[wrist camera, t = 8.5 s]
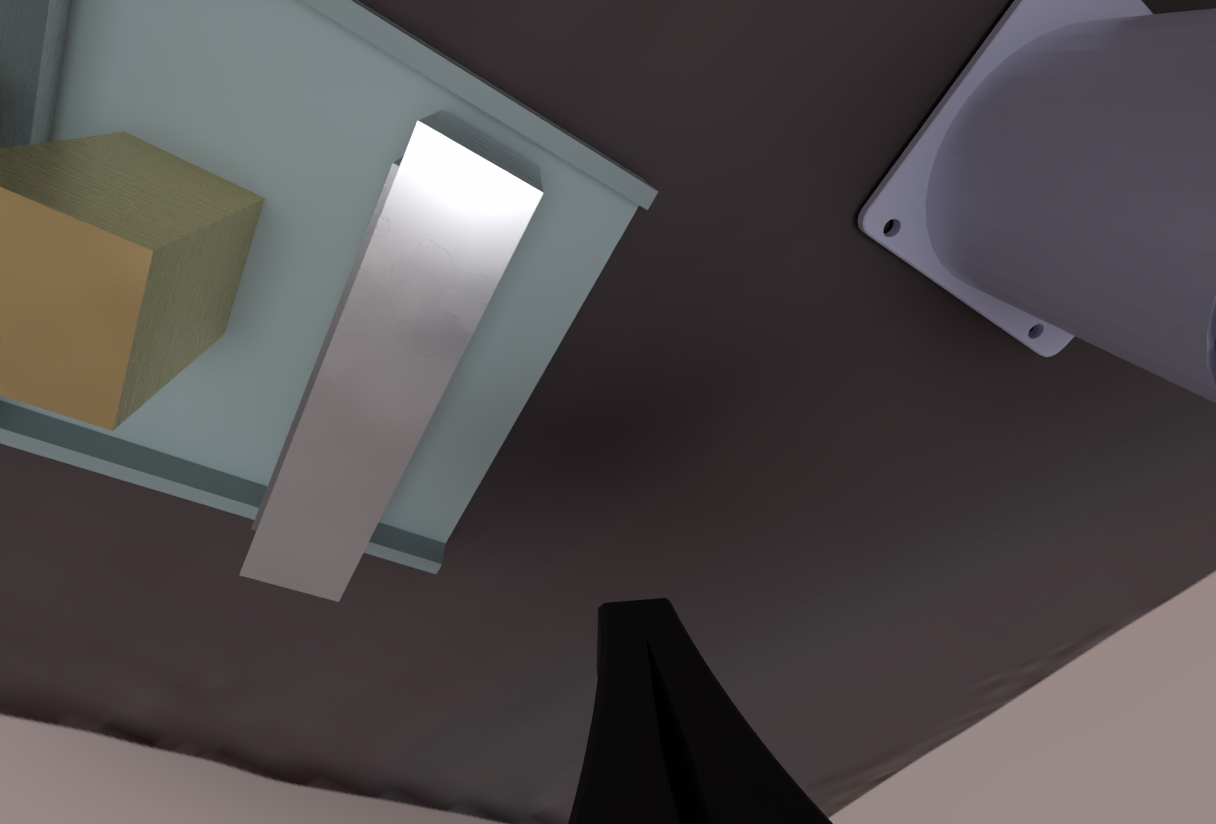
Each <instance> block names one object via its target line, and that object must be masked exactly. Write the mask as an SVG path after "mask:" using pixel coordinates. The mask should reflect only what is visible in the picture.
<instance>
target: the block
mask: <svg viewBox="0 0 1216 824" xmlns="http://www.w3.org/2000/svg"><path fill="white" fill-rule="evenodd" d="M264 199H265V198H263V197H261V196H259V195H257V194H255V193H253V192H251V191H249V190H246V189H244V188H242V187H240V186H238V185H236V184H234V183H232V182H230V181H228V180H225V179H223V178H221V177H219V176H217V175H215V174H213V173H211V172H209V171H207V170H204V169H202V168H200V167H198V166H196V165H194V164H192V163H190V162H188V161H185V160H183V159H181V158H179V157H177V156H175V155H173V154H171V153H169V152H167V151H164V150H162V149H160V148H158V147H156V146H154V145H152V144H150V143H148V142H145V141H143V140H141V139H139V138H137V137H135V136H133V135H131V134H129V133H127V132H117V133H109V134H102V135H95V136H88V137H81V138H74V139H67V140H60V141H53V142H46V143H39V144H32V145H25V146H18V147H10V148H3V149H0V395H1V396H4V397H7V398H10V399H14V400H17V401H20V402H23V403H26V404H29V405H32V406H35V407H39V408H42V409H45V410H48V411H51V412H54V413H57V414H60V415H64V416H67V417H70V418H73V419H76V420H79V421H82V422H86V423H89V424H92V425H95V426H98V427H101V428H104V429H107V430H111V431H113V430H114V429H116V428H117V427H118V426H119V425H120V424H121V423H123V422H124V421H125V420H126V419H127V418H128V417H129V416H131V415H132V414H133V413H134V412H135V411H136V410H137V409H139V408H140V407H141V406H142V405H143V404H144V403H146V402H147V401H148V400H149V399H150V398H151V397H152V396H154V395H155V394H156V393H157V392H158V391H159V390H161V389H162V388H163V387H164V386H165V385H166V384H167V383H169V382H170V381H171V380H172V379H173V378H174V377H176V376H177V375H178V374H179V373H180V372H181V371H182V370H184V369H185V368H186V367H187V366H188V365H189V364H191V363H192V362H193V361H194V360H195V359H196V358H197V357H199V356H200V355H201V354H202V353H203V352H204V351H206V350H207V349H208V348H209V347H210V346H211V345H212V344H214V343H215V342H216V341H217V340H218V339H219V338H221V337H222V336H223V335H224V334H225V330H226V327H227V323H228V320H229V317H230V313H231V310H232V307H233V303H234V300H235V296H236V293H237V290H238V286H239V283H240V280H241V276H242V273H243V269H244V266H245V263H246V259H247V256H248V253H249V249H250V246H251V242H252V239H253V236H254V232H255V229H256V226H257V222H258V219H259V215H260V212H261V209H262V205H263V202H264Z"/></svg>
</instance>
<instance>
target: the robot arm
mask: <svg viewBox="0 0 1216 824" xmlns="http://www.w3.org/2000/svg"><path fill="white" fill-rule="evenodd" d="M891 219H893V227H892V229H891V230H890V231H889V232H888V233H885V234H884V233H883V228H884V226H885V224H886V223H887V222H888V221H889V220H891ZM858 226H859V229H860V230H861V231H862V232H863V233H864V234H866V235H867V236H869V237H870V238H872V239H873V240H875V241H876V242H877V243H879V244H880V245H882V246H883V247H885V248H886V249H887V250H889V251H890V252H892V253H893V254H895V255H896V256H897V257H899V258H900V259H902V260H903V261H905V262H906V263H908V264H909V265H910V266H912V267H913V268H915V269H916V270H918V271H919V272H920V273H922V274H923V275H925V276H926V277H928V278H929V279H930V280H932V281H933V282H935V283H936V284H938V285H939V286H941V287H942V288H943V289H945V290H946V291H948V292H949V293H951V294H952V295H953V296H955V297H956V298H958V299H959V300H961V301H962V302H963V303H965V304H966V305H968V306H969V307H971V308H972V309H974V310H975V311H976V312H978V313H979V314H981V315H982V316H984V317H985V318H986V319H988V320H989V321H991V322H992V323H994V324H995V325H997V326H998V327H999V328H1001V329H1002V330H1004V331H1005V332H1007V333H1008V334H1009V335H1011V336H1012V337H1014V338H1015V339H1017V340H1018V341H1019V342H1021V343H1022V344H1024V345H1025V346H1027V347H1028V348H1030V349H1031V350H1032V351H1034V352H1035V353H1037V354H1039V355H1041V356H1044V357H1050V356H1053V355H1055V354H1057V353H1058V352H1059V351H1061V350H1062V349H1063V348H1064V347H1065V346H1066V345H1067V344H1068V343H1069V342H1070V341H1071V340H1072V339H1073V338H1074V336H1075V337H1078V338H1080V339H1082V340H1084V341H1086V342H1088V343H1090V344H1092V345H1094V346H1096V347H1099V348H1101V349H1103V350H1105V351H1107V352H1109V353H1111V354H1113V355H1115V356H1118V357H1120V358H1122V359H1124V360H1126V361H1128V362H1130V363H1132V364H1134V365H1136V366H1139V367H1141V368H1143V369H1145V370H1147V371H1149V372H1151V373H1153V374H1155V375H1157V376H1160V377H1162V378H1164V379H1166V380H1168V381H1170V382H1172V383H1174V384H1176V385H1179V386H1181V387H1183V388H1185V389H1187V390H1189V391H1191V392H1193V393H1195V394H1197V395H1200V396H1202V397H1204V398H1206V399H1208V400H1210V401H1212V402H1214V403H1216V8H1215V9H1204V10H1194V11H1184V12H1173V13H1163V14H1153V13H1152V12H1151V11H1150V10H1149V8H1148V7H1147V6H1146V5H1145V4H1144V3H1143V1H1142V0H1014V2H1013V3H1012V4H1011V6H1010V7H1009V8H1008V10H1007V11H1006V12H1005V14H1004V15H1003V17H1002V18H1001V19H1000V21H999V22H998V23H997V25H996V26H995V27H994V29H993V30H992V32H991V33H990V34H989V36H988V37H987V38H986V40H985V41H984V43H983V44H982V45H981V47H980V48H979V49H978V51H977V52H976V53H975V55H974V56H973V58H972V59H971V60H970V62H969V63H968V64H967V66H966V67H965V68H964V70H963V71H962V73H961V74H960V75H959V77H958V78H957V79H956V81H955V82H954V84H953V85H952V86H951V88H950V89H949V90H948V92H947V93H946V94H945V96H944V97H943V99H942V100H941V101H940V103H939V104H938V105H937V107H936V108H935V109H934V111H933V112H932V114H931V115H930V116H929V118H928V119H927V120H926V122H925V123H924V124H923V126H922V127H921V129H920V130H919V131H918V133H917V134H916V135H915V137H914V138H913V140H912V141H911V142H910V144H909V145H908V146H907V148H906V149H905V150H904V152H903V153H902V155H901V156H900V157H899V159H898V160H897V161H896V163H895V164H894V165H893V167H892V168H891V170H890V171H889V172H888V174H887V175H886V176H885V178H884V179H883V181H882V182H881V183H880V185H879V186H878V187H877V189H876V190H875V191H874V193H873V194H872V196H871V197H870V198H869V200H868V201H867V202H866V204H865V205H864V206H863V208H862V209H861V211H860V213H859V216H858ZM1033 326H1034V328H1033V330H1032V331H1031V332H1029V331H1030V329H1031V328H1032V327H1033ZM597 675H598V682H597V689H596V697H595V705H594V711H593V717H592V722H591V727H590V732H589V737H588V743H587V748H586V753H585V758H584V762H583V767H582V771H581V775H580V780H579V784H578V788H577V792H576V796H575V800H574V804H573V808H572V812H571V815H570V819H569V823H568V824H833V823H832V822H831V821H830V820H829V819H828V818H827V817H826V816H825V815H824V814H823V813H822V811H821V810H820V809H819V808H818V807H817V806H816V805H815V804H814V803H813V802H812V800H811V799H810V798H809V797H808V796H807V795H806V794H805V793H804V792H803V790H802V789H801V788H800V787H799V786H798V785H797V783H796V782H795V781H794V780H793V779H792V778H791V776H790V775H789V774H788V773H787V772H786V771H785V769H784V768H783V767H782V766H781V765H780V763H779V762H778V761H777V760H776V759H775V757H774V756H773V755H772V754H771V752H770V751H769V750H768V749H767V747H766V746H765V745H764V744H763V742H762V741H761V740H760V738H759V737H758V736H757V734H756V733H755V732H754V731H753V729H752V728H751V727H750V725H749V724H748V723H747V721H746V720H745V719H744V717H743V716H742V715H741V713H740V712H739V710H738V709H737V708H736V706H735V705H734V704H733V702H732V701H731V699H730V698H729V696H728V695H727V693H726V692H725V691H724V689H723V688H722V686H721V685H720V683H719V682H718V680H717V679H716V677H715V676H714V675H713V673H712V672H711V670H710V669H709V667H708V665H707V664H706V662H705V661H704V659H703V658H702V656H701V654H700V653H699V651H698V650H697V648H696V646H695V645H694V643H693V642H692V640H691V638H690V636H689V635H688V633H687V631H686V630H685V628H684V626H683V624H682V623H681V621H680V619H679V617H678V615H677V613H676V612H675V610H674V608H673V606H672V604H671V602H670V601H669V600H668V599H666V598H659V599H647V600H635V601H622V602H610V603H604V604H602V605H601V606H600V607H599V608H598V644H597Z"/></svg>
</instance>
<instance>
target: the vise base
mask: <svg viewBox="0 0 1216 824" xmlns="http://www.w3.org/2000/svg"><path fill="white" fill-rule="evenodd" d="M441 110H444V111H445V112H447V113H449V114H450V115H452V116H454V117H456V118H457V119H459V120H461V121H462V122H464V123H466V124H467V125H469V126H471V127H472V128H474V129H476V130H478V131H479V132H481V133H483V134H484V135H486V136H488V137H489V138H491V139H493V140H494V141H496V142H498V143H500V144H501V145H503V146H505V147H506V148H508V149H510V150H511V151H513V152H515V153H516V154H518V155H520V156H522V157H523V158H525V159H527V160H528V161H530V162H532V163H533V164H535V165H537V166H538V167H539V169H540V175H541V181H542V187H543V195H542V197H541V199H540V201H539V203H538V205H537V207H536V209H535V211H534V213H533V215H532V217H531V219H530V221H529V223H528V225H527V227H526V229H525V231H524V233H523V235H522V237H521V239H520V241H519V243H518V245H517V247H516V249H515V251H514V253H513V255H512V257H511V259H510V261H509V263H508V265H507V267H506V269H505V271H504V273H503V275H502V277H501V279H500V281H499V283H498V285H497V287H496V289H495V291H494V293H493V295H492V297H491V299H490V301H489V303H488V305H487V307H486V309H485V311H484V313H483V315H482V317H481V319H480V321H479V323H478V325H477V327H476V329H475V331H474V333H473V335H472V337H471V339H470V341H469V343H468V345H467V347H466V349H465V351H464V353H463V355H462V357H461V359H460V361H459V363H458V365H457V367H456V369H455V371H454V373H453V375H452V377H451V379H450V381H449V383H448V385H447V387H446V389H445V391H444V393H443V395H442V397H441V399H440V401H439V403H438V405H437V407H436V409H435V411H434V413H433V415H432V417H431V419H430V421H429V423H428V425H427V427H426V429H425V431H424V433H423V435H422V437H421V439H420V441H419V443H418V445H417V447H416V449H415V451H414V453H413V455H412V457H411V459H410V461H409V463H408V465H407V467H406V469H405V471H404V473H403V475H402V477H401V479H400V481H399V483H398V484H397V486H396V488H395V490H394V492H393V494H392V496H391V498H390V500H389V502H388V504H387V506H386V508H385V510H384V512H383V514H382V516H381V518H380V520H379V522H378V524H377V526H376V528H375V530H374V532H373V534H372V536H371V538H370V540H369V542H368V544H367V546H366V548H365V550H364V552H363V553H367V554H370V555H373V556H377V557H380V558H383V559H387V560H390V561H393V562H397V563H400V564H403V565H407V566H410V567H413V568H417V569H420V570H423V571H427V572H430V573H433V574H437V572H438V570H439V569H440V567H441V565H442V561H443V555H444V549H445V543H446V542H447V540H448V538H449V536H450V535H451V533H452V531H453V530H454V528H455V526H456V524H457V523H458V521H459V519H460V517H461V516H462V514H463V512H464V510H465V509H466V507H467V505H468V503H469V502H470V500H471V498H472V496H473V495H474V493H475V491H476V489H477V488H478V486H479V484H480V482H481V481H482V479H483V477H484V475H485V474H486V472H487V470H488V468H489V467H490V465H491V463H492V461H493V460H494V458H495V456H496V454H497V453H498V451H499V449H500V447H501V446H502V444H503V442H504V440H505V439H506V437H507V435H508V433H509V432H510V430H511V428H512V426H513V425H514V423H515V421H516V419H517V418H518V416H519V414H520V413H521V411H522V409H523V407H524V406H525V404H526V402H527V400H528V399H529V397H530V395H531V393H532V392H533V390H534V388H535V386H536V385H537V383H538V381H539V379H540V378H541V376H542V374H543V372H544V371H545V369H546V367H547V365H548V364H549V362H550V360H551V358H552V357H553V355H554V353H555V351H556V350H557V348H558V346H559V344H560V343H561V341H562V339H563V337H564V336H565V334H566V332H567V330H568V329H569V327H570V325H571V323H572V322H573V320H574V318H575V316H576V315H577V313H578V311H579V309H580V308H581V306H582V304H583V302H584V301H585V299H586V297H587V296H588V294H589V292H590V290H591V289H592V287H593V285H594V283H595V282H596V280H597V278H598V276H599V275H600V273H601V271H602V269H603V268H604V266H605V264H606V262H607V261H608V259H609V257H610V255H611V254H612V252H613V250H614V248H615V247H616V245H617V243H618V241H619V240H620V238H621V236H622V234H623V233H624V231H625V229H626V227H627V226H628V224H629V222H630V220H631V219H632V217H633V215H634V213H635V212H636V210H637V208H638V206H639V205H640V206H641V207H643V208H645V209H646V210H648V209H649V207H650V205H651V203H652V202H653V200H654V198H655V197H656V195H657V193H658V191H657V190H656V189H654V188H653V187H652V186H651V185H650V184H649V183H648V182H646V181H645V180H644V179H643V178H641V177H639V176H638V175H636V174H635V173H633V172H631V171H630V170H628V169H627V168H625V167H623V166H622V165H620V164H619V163H617V162H615V161H614V160H612V159H611V158H609V157H607V156H606V155H604V154H603V153H601V152H599V151H598V150H596V149H595V148H593V147H591V146H590V145H588V144H587V143H585V142H583V141H582V140H580V139H579V138H577V137H575V136H574V135H572V134H571V133H569V132H567V131H566V130H564V129H563V128H561V127H560V126H558V125H556V124H555V123H553V122H552V121H550V120H548V119H547V118H545V117H544V116H542V115H540V114H539V113H537V112H536V111H534V110H532V109H531V108H529V107H528V106H526V105H524V104H523V103H521V102H520V101H518V100H516V99H515V98H513V97H512V96H510V95H508V94H507V93H505V92H504V91H502V90H500V89H499V88H497V87H496V86H494V85H492V84H491V83H489V82H488V81H486V80H484V79H483V78H481V77H480V76H478V75H476V74H475V73H473V72H472V71H470V70H468V69H467V68H465V67H464V66H462V65H460V64H459V63H457V62H456V61H454V60H452V59H451V58H449V57H448V56H446V55H445V54H443V53H441V52H440V51H438V50H437V49H435V48H433V47H432V46H430V45H429V44H427V43H425V42H424V41H422V40H421V39H419V38H417V37H416V36H414V35H413V34H411V33H409V32H408V31H406V30H405V29H403V28H401V27H400V26H398V25H397V24H395V23H393V22H392V21H390V20H389V19H387V18H385V17H384V16H382V15H381V14H379V13H377V12H376V11H374V10H373V9H371V8H369V7H368V6H366V5H365V4H363V3H361V2H360V1H358V0H72V2H71V9H70V15H69V22H68V29H67V35H66V42H65V49H64V55H63V62H62V69H61V75H60V82H59V89H58V96H57V102H56V109H55V116H54V122H53V129H52V136H51V142H53V141H60V140H67V139H74V138H81V137H88V136H95V135H102V134H109V133H117V132H127V133H129V134H131V135H133V136H135V137H137V138H139V139H141V140H143V141H145V142H148V143H150V144H152V145H154V146H156V147H158V148H160V149H162V150H164V151H167V152H169V153H171V154H173V155H175V156H177V157H179V158H181V159H183V160H185V161H188V162H190V163H192V164H194V165H196V166H198V167H200V168H202V169H204V170H207V171H209V172H211V173H213V174H215V175H217V176H219V177H221V178H223V179H225V180H228V181H230V182H232V183H234V184H236V185H238V186H240V187H242V188H244V189H246V190H249V191H251V192H253V193H255V194H257V195H259V196H261V197H263V198H265V199H264V202H263V205H262V209H261V212H260V215H259V219H258V222H257V226H256V229H255V232H254V236H253V239H252V242H251V246H250V249H249V253H248V256H247V259H246V263H245V266H244V269H243V273H242V276H241V280H240V283H239V286H238V290H237V293H236V296H235V300H234V303H233V307H232V310H231V313H230V317H229V320H228V323H227V327H226V330H225V334H224V335H223V336H222V337H221V338H219V339H218V340H217V341H216V342H215V343H214V344H212V345H211V346H210V347H209V348H208V349H207V350H206V351H204V352H203V353H202V354H201V355H200V356H199V357H197V358H196V359H195V360H194V361H193V362H192V363H191V364H189V365H188V366H187V367H186V368H185V369H184V370H182V371H181V372H180V373H179V374H178V375H177V376H176V377H174V378H173V379H172V380H171V381H170V382H169V383H167V384H166V385H165V386H164V387H163V388H162V389H161V390H159V391H158V392H157V393H156V394H155V395H154V396H152V397H151V398H150V399H149V400H148V401H147V402H146V403H144V404H143V405H142V406H141V407H140V408H139V409H137V410H136V411H135V412H134V413H133V414H132V415H131V416H129V417H128V418H127V419H126V420H125V421H124V422H123V423H121V424H120V425H119V426H118V427H117V428H116V429H114V430H113V431H111V430H107V429H104V428H101V427H98V426H95V425H92V424H89V423H86V422H82V421H79V420H76V419H73V418H70V417H67V416H64V415H60V414H57V413H54V412H51V411H48V410H45V409H42V408H39V407H35V406H32V405H29V404H26V403H23V402H20V401H17V400H14V399H10V398H7V397H4V396H2V397H1V398H0V443H1V444H4V445H8V446H11V447H14V448H18V449H21V450H24V451H28V452H31V453H34V454H38V455H41V456H44V457H48V458H51V459H54V460H58V461H61V462H64V463H68V464H71V465H74V466H78V467H81V468H84V469H87V470H91V471H94V472H97V473H101V474H104V475H107V476H111V477H114V478H117V479H121V480H124V481H127V482H131V483H134V484H137V485H141V486H144V487H147V488H151V489H154V490H157V491H161V492H164V493H167V494H171V495H174V496H177V497H181V498H184V499H187V500H191V501H194V502H197V503H200V504H204V505H207V506H210V507H214V508H217V509H220V510H224V511H227V512H230V513H234V514H237V515H240V516H244V517H247V518H250V519H254V520H255V518H256V515H257V513H258V510H259V507H260V505H261V502H262V500H263V497H264V494H265V492H266V489H267V487H268V484H269V482H270V479H271V476H272V474H273V471H274V469H275V466H276V463H277V461H278V458H279V456H280V453H281V450H282V448H283V445H284V443H285V440H286V438H287V435H288V432H289V430H290V427H291V425H292V422H293V419H294V417H295V414H296V412H297V409H298V407H299V404H300V401H301V399H302V396H303V394H304V391H305V388H306V386H307V383H308V381H309V378H310V376H311V373H312V370H313V368H314V365H315V363H316V360H317V357H318V355H319V352H320V350H321V347H322V344H323V342H324V339H325V337H326V334H327V332H328V329H329V326H330V324H331V321H332V319H333V316H334V313H335V311H336V308H337V306H338V303H339V301H340V298H341V295H342V293H343V290H344V288H345V285H346V282H347V280H348V277H349V275H350V272H351V269H352V267H353V264H354V262H355V259H356V257H357V254H358V251H359V249H360V246H361V244H362V241H363V238H364V236H365V233H366V231H367V228H368V226H369V223H370V220H371V218H372V215H373V213H374V210H375V207H376V205H377V202H378V200H379V197H380V195H381V192H382V189H383V187H384V184H385V182H386V179H387V176H388V174H389V171H390V169H391V166H392V163H393V162H395V161H396V160H398V159H399V158H401V157H402V156H404V154H405V152H406V149H407V147H408V144H409V141H410V139H411V136H412V134H413V131H414V129H415V126H416V124H417V121H418V120H420V119H422V118H425V117H427V116H429V115H432V114H434V113H436V112H438V111H441Z"/></svg>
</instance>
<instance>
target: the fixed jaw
mask: <svg viewBox="0 0 1216 824" xmlns="http://www.w3.org/2000/svg"><path fill="white" fill-rule="evenodd" d="M71 2H72V0H0V149H3V148H10V147H18V146H25V145H32V144H39V143H46V142H51V136H52V129H53V122H54V116H55V109H56V102H57V96H58V89H59V82H60V75H61V69H62V62H63V55H64V49H65V42H66V35H67V29H68V22H69V15H70V9H71ZM1 397H2V396H1V395H0V398H1Z"/></svg>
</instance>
